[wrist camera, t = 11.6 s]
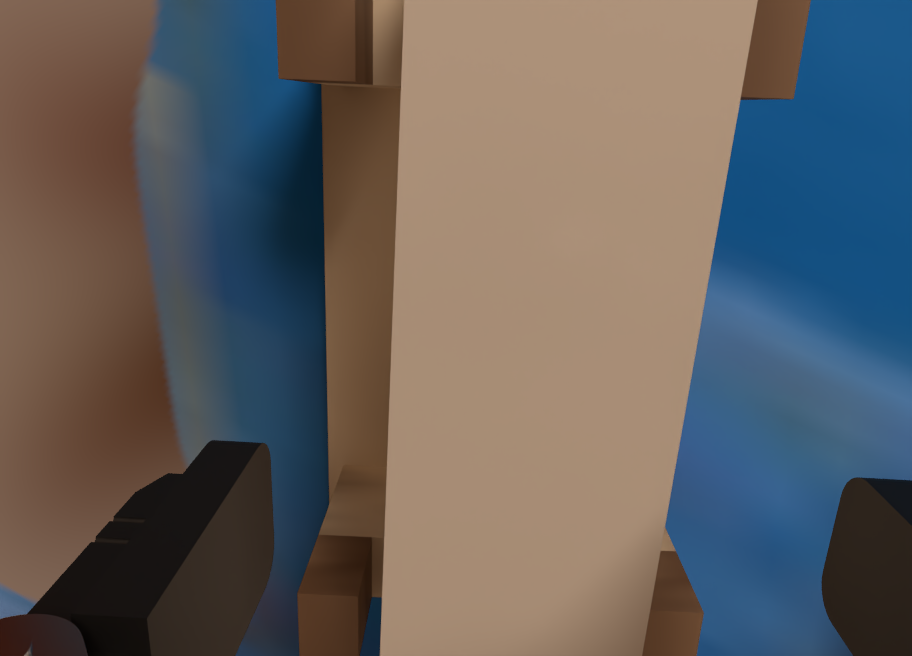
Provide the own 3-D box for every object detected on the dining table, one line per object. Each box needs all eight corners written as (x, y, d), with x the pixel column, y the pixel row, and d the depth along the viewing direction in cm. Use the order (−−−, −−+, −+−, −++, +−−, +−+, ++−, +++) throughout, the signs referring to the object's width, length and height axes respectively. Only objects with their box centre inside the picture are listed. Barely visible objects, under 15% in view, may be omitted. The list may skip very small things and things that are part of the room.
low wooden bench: (715, -47, 20) (863, -139, 12) (634, 554, 26) (700, 740, 19) (329, -61, 20) (241, -161, 13) (338, 540, 26) (282, 719, 19)
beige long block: (665, -43, 15) (780, -132, 9) (571, 638, 21) (608, 844, 15) (433, -59, 15) (410, -157, 10) (401, 627, 21) (374, 827, 15)
